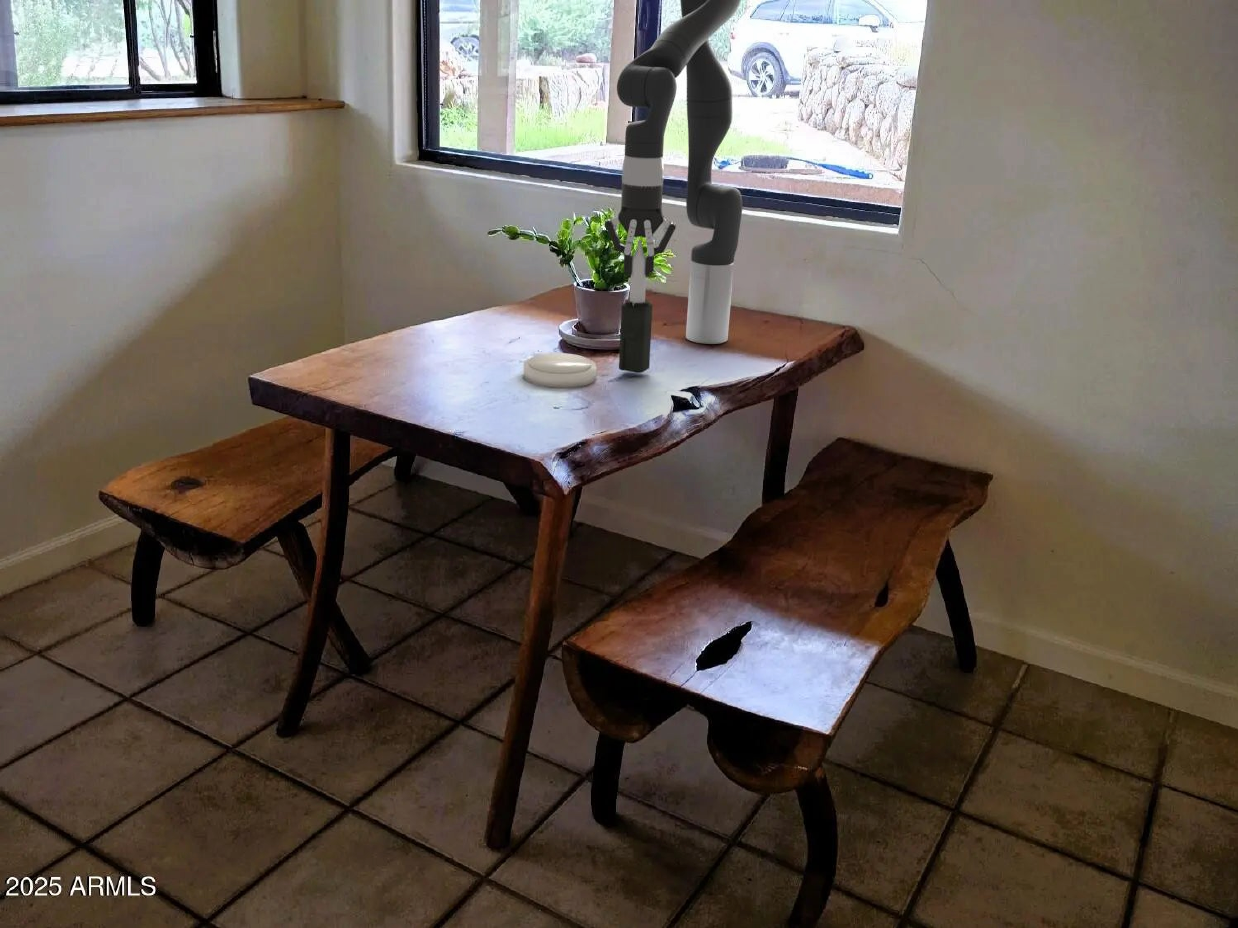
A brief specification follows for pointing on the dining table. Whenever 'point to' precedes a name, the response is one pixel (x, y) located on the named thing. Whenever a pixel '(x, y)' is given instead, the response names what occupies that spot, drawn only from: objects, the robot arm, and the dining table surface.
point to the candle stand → (559, 370)
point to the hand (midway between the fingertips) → (638, 274)
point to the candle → (636, 319)
